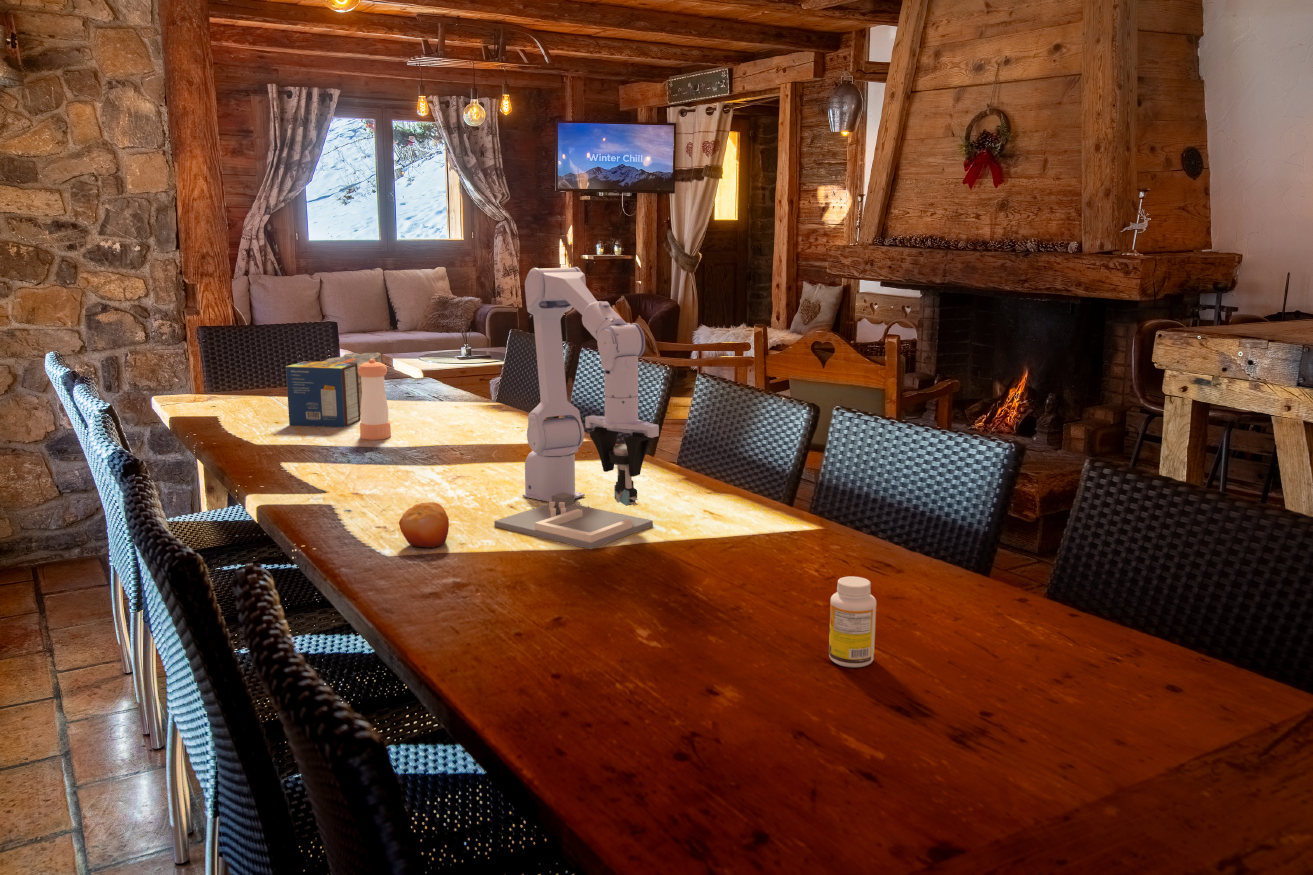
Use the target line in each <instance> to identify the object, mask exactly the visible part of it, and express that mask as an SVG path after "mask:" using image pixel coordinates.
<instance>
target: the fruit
mask: <svg viewBox="0 0 1313 875" xmlns="http://www.w3.org/2000/svg"><path fill="white" fill-rule="evenodd" d="M449 519H450V518H449V516H448V513H447V512H446V510H445V508H444V507H443V506H442V505H441V504H440V503H438V502H433V501H432V502H420V503H416V504H414V505H413V506H411V507H409V508H408V509H407V510H406V511H405V512H404V513H403V514H402V516H401V518H400V519H399V521H398V524H399V525H398V526H399V529H400V532H401V533H402V535H403V537H404V538H405V540H406V542H407V543H408V544H409V545H410V546H411V547H416V548H433V549H434V548H438V547H440V546H442V545H443V544H445V543H446V541H447V539H448V535H449V530H450V529H449V527H450V526H449V525H450V523H449V522H450V521H449Z"/></svg>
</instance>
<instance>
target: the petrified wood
mask: <svg viewBox="0 0 1313 875" xmlns="http://www.w3.org/2000/svg"><path fill="white" fill-rule="evenodd" d="M370 359H374V360H375V362H380V363H382V354H381V353H380V352H365V353H364V352H361V353H356V352H355V353H354V352H353V353H345V354H344V355H343V356H338V357H329V358H327V359H324V360H323V361H321V362H357V366H358V368H359V366H360V365H361V364H363V363H367V362H369V360H370ZM382 364H383V363H382ZM361 377H362V376H359V374H358V384H359V400H360V409H361V399H362V382H361Z"/></svg>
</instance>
